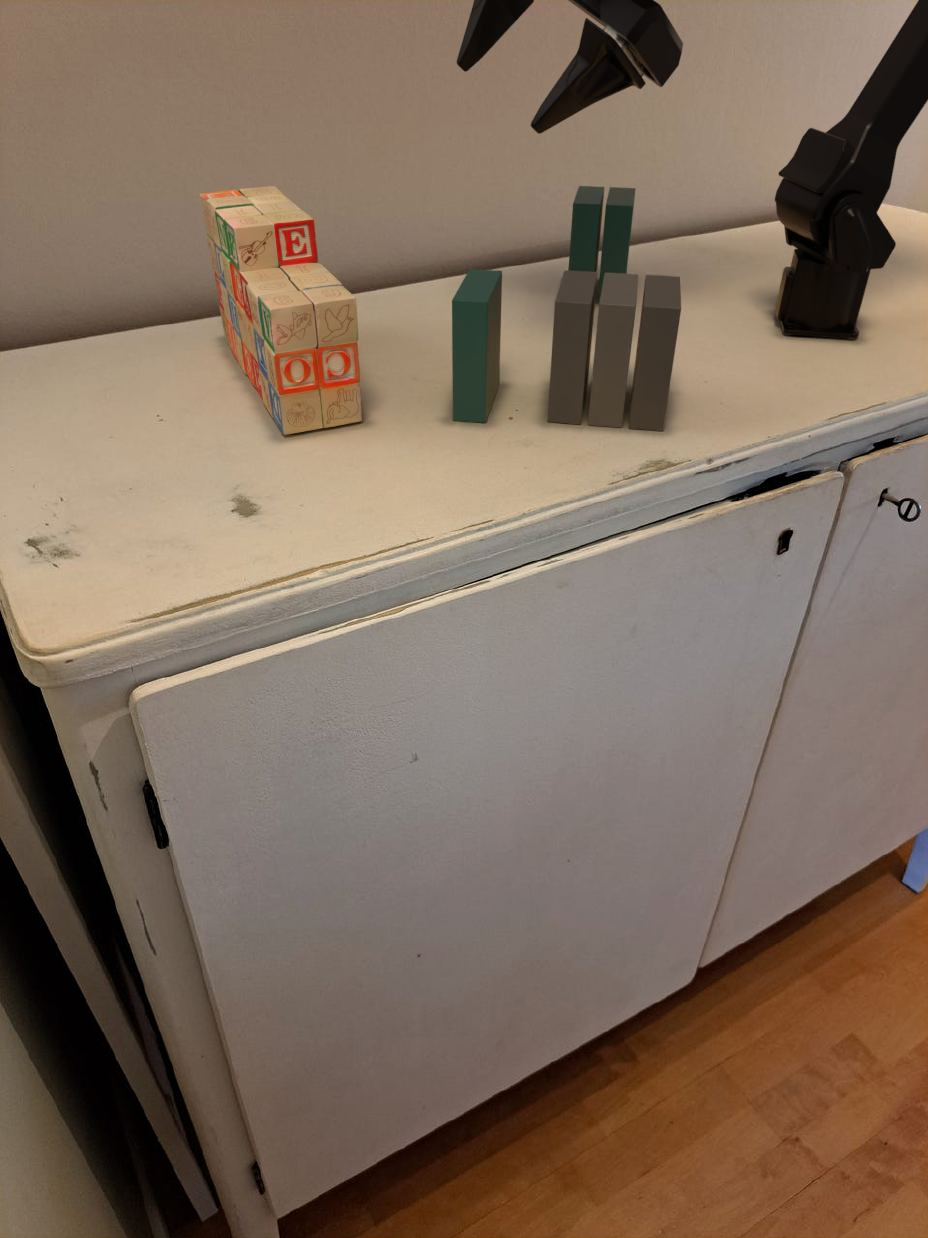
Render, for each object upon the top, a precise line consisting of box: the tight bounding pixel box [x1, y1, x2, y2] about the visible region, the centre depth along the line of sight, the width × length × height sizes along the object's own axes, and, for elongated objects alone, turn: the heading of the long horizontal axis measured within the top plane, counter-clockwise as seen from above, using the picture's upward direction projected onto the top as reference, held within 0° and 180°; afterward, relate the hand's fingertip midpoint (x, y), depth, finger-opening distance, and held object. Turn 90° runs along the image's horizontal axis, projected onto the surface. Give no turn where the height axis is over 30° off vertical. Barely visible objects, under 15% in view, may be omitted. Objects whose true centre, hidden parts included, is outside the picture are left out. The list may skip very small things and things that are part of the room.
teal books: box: [567, 185, 636, 305], centre depth 88 cm, size 6×7×9 cm
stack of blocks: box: [199, 185, 363, 436], centre depth 70 cm, size 21×6×12 cm, turn 23°
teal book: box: [451, 268, 503, 424], centre depth 67 cm, size 2×7×9 cm, turn 170°
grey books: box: [547, 269, 682, 432], centre depth 67 cm, size 8×7×9 cm
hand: (496, 97), depth 66 cm, fingers open, 9 cm apart
